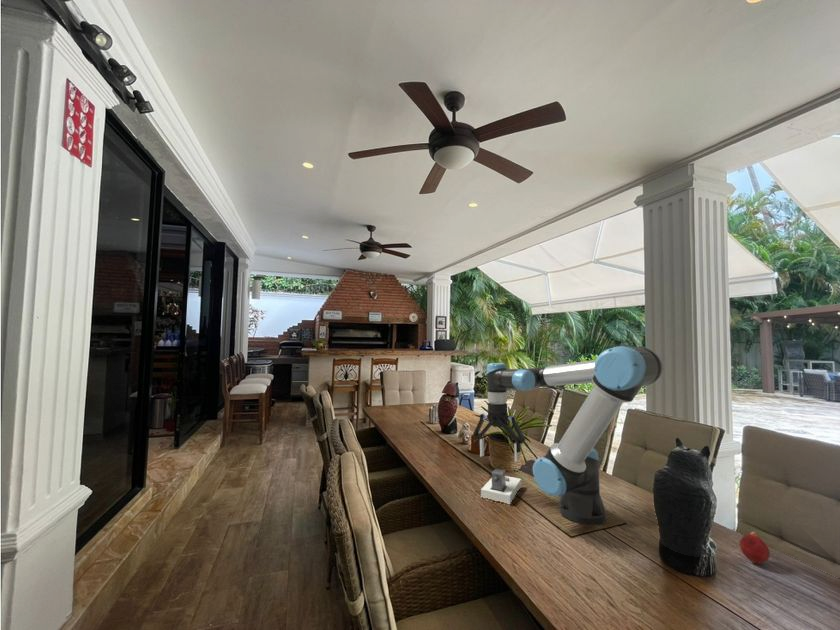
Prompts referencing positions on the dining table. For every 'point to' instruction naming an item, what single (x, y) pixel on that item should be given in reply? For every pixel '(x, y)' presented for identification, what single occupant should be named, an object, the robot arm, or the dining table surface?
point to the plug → (498, 480)
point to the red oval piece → (754, 548)
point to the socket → (505, 496)
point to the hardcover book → (528, 468)
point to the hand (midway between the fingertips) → (499, 458)
